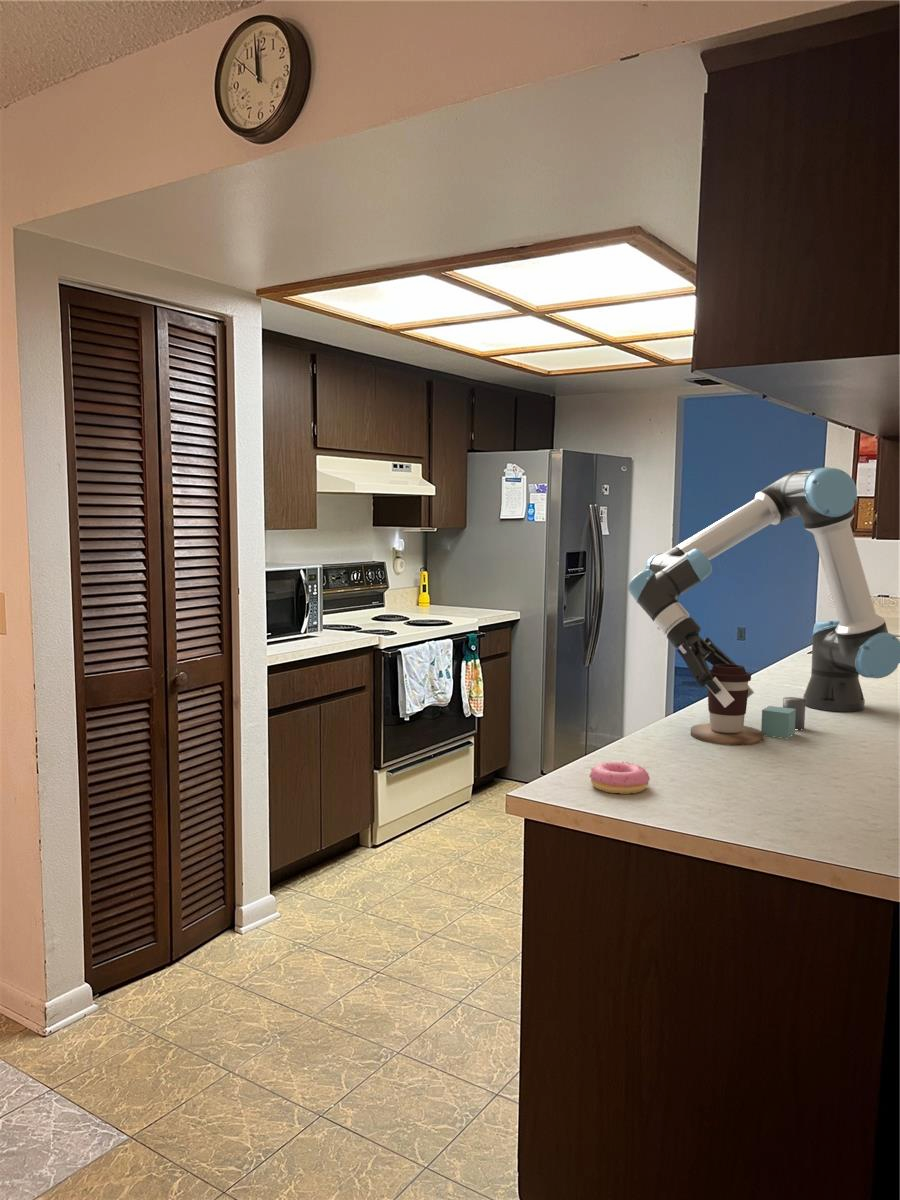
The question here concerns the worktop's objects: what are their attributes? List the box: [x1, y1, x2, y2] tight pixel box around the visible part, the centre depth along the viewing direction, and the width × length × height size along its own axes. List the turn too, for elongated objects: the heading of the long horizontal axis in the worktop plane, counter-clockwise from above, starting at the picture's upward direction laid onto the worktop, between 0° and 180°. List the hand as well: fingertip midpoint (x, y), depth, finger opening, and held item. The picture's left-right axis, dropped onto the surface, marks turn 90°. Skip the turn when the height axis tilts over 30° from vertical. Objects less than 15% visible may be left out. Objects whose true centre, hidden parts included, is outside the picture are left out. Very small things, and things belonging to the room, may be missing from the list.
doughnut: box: [588, 761, 651, 795], centre depth 168 cm, size 11×11×4 cm
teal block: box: [760, 705, 796, 739], centre depth 209 cm, size 6×6×6 cm
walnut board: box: [690, 722, 765, 746], centre depth 208 cm, size 16×16×1 cm
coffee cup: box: [707, 663, 752, 733], centre depth 207 cm, size 10×10×15 cm
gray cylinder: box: [782, 696, 806, 731], centre depth 216 cm, size 5×5×7 cm
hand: (739, 699), depth 205 cm, fingers open, 11 cm apart
